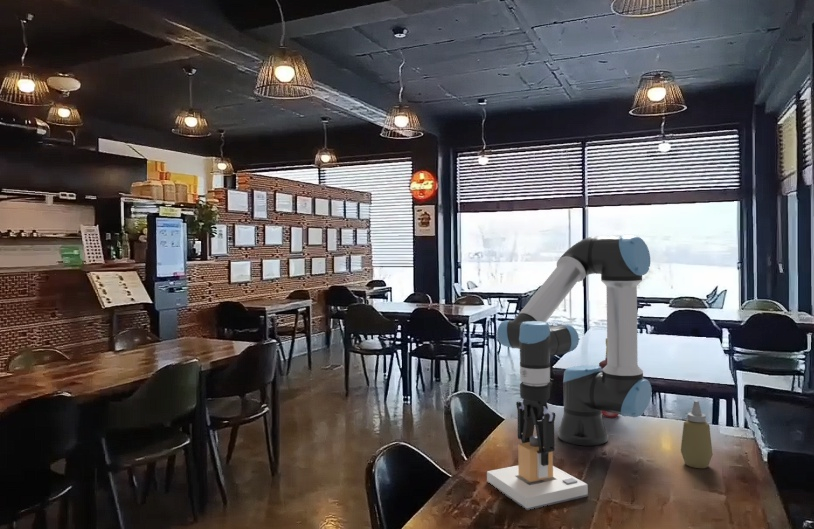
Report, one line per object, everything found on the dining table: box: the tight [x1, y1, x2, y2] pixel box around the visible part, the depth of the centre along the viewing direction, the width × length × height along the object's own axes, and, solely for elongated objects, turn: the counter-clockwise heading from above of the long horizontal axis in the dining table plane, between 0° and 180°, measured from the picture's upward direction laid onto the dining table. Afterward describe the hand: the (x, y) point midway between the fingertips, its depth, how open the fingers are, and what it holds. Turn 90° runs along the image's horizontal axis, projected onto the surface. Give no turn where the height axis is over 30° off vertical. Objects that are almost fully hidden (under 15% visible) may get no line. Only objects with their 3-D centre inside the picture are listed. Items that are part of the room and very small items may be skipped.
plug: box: [517, 434, 554, 482], centre depth 150 cm, size 5×7×10 cm
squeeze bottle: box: [680, 400, 714, 469], centre depth 165 cm, size 8×8×18 cm
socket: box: [486, 464, 589, 511], centre depth 151 cm, size 18×18×3 cm
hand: (535, 472), depth 151 cm, fingers closed on plug, 5 cm apart
